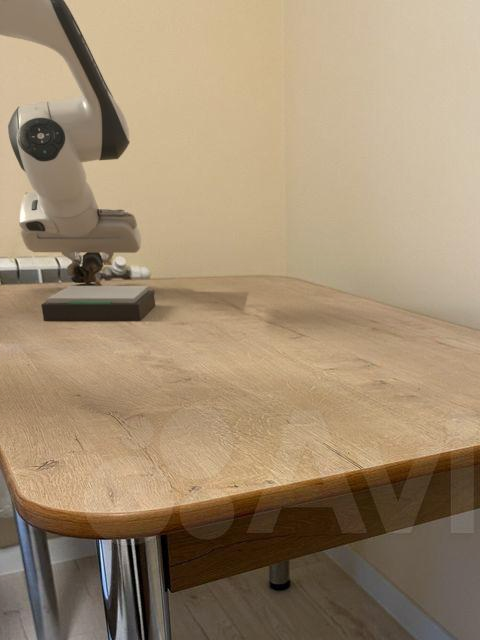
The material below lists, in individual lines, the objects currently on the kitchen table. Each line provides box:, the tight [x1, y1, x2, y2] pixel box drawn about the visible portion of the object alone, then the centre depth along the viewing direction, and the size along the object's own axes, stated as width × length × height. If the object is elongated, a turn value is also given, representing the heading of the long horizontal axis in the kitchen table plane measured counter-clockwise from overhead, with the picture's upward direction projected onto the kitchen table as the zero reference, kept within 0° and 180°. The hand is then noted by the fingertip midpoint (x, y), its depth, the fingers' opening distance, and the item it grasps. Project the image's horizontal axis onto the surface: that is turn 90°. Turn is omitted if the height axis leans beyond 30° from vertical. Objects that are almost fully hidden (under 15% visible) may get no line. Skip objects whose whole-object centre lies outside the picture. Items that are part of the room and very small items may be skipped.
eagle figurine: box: [66, 253, 104, 286], centre depth 136 cm, size 8×7×9 cm
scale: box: [41, 285, 156, 322], centre depth 111 cm, size 14×14×3 cm
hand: (93, 262), depth 136 cm, fingers closed on eagle figurine, 4 cm apart
